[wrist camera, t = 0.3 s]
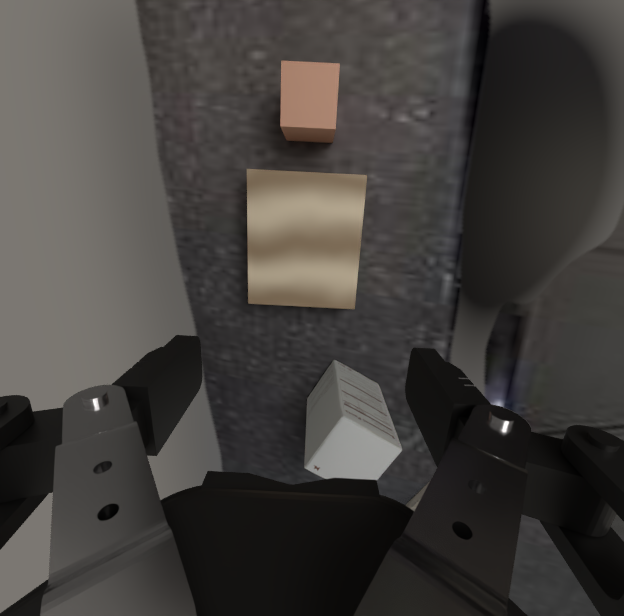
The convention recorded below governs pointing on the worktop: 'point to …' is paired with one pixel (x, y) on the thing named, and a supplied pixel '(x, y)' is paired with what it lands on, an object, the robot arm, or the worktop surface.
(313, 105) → the terracotta block
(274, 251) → the birch base
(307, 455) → the supplement box
